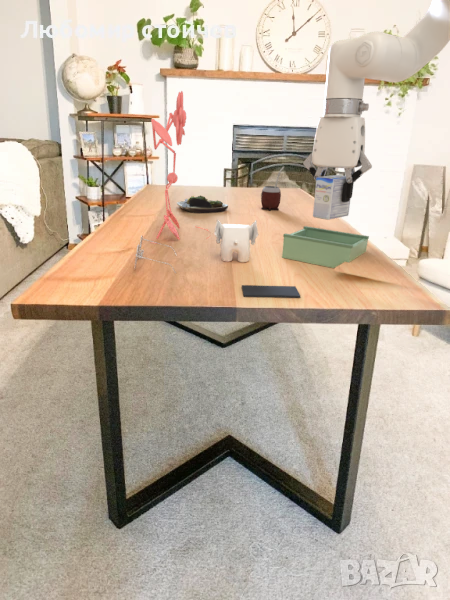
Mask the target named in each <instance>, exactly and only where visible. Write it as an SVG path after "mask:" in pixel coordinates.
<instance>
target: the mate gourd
mask: <svg viewBox="0 0 450 600" xmlns="http://www.w3.org/2000/svg"><path fill="white" fill-rule="evenodd" d="M283 169H285V166H282V167H281V168H280V170H279V171H278V173H277V177H276V181H275V184H274V185H266V186H264V187H263V188H262V190H261V194H260V202H261V203H260V204H261V210H268V212H271V211H279V209H280V207H279V206H280V203H281V199H282V198H281V197H282V192H281V189H280V187H279V186H277V185H278V182H279V178H280V176H281V173H282V171H283Z"/></svg>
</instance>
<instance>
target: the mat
mask: <svg viewBox="0 0 450 600" xmlns="http://www.w3.org/2000/svg"><path fill="white" fill-rule="evenodd" d="M241 291H242V295H243V298H281V299H282V298H284V299H285V298H286V299H287V298H291V299H300V298H301V294H300V292H299V291H298V289H297V287H296V286H295V285H291V286H290V285H257V284H255V285H254V284H253V285H251V284H250V285H249V284H241Z"/></svg>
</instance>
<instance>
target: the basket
mask: <svg viewBox="0 0 450 600" xmlns="http://www.w3.org/2000/svg"><path fill="white" fill-rule="evenodd" d="M282 236H283V239H282V240H283V241H282V253H281V258H282V259H286V260H287V259H288V260H292V261H297V262H302V263H306V264H312V265H317V266H322V267H326V268H331V269H335V268H337V267H339V266H340V265H342V264H344V263H350V262H352V261H353V260H355V259H357V258H359V257H360V256H362V255H363V254H365V253H366V252H367V250H368V249H367V247H368V243H369V238H370V236H369V235H364V234H358V233H352V232H345V231H339V230H332V229H326V228H320V227H313V226H307V225H303V228H302V229H300V230H297V231H294V232H291V233H283V235H282Z"/></svg>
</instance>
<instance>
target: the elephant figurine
mask: <svg viewBox="0 0 450 600" xmlns="http://www.w3.org/2000/svg"><path fill="white" fill-rule="evenodd" d="M257 224H258V223H257V220H254V221H253V222H252V223H251V225H250V224H241V223H240V224H239V223H237V224H235V223H223V224H222V222H221V221H220V220H219V218H216V222H215V227H214V231H213V234H214V236H215V237H216V239H215V243H216V244H218V245H219V244H220V245H219V248H220V258H221V261H222V262H232V261H233V254H234V253H235V252H236V253H237V261H238V262H240V263H247V262H249V260H250V257H251V246H254V245H255V244H256V239H257V238H258V236H259V230H258V225H257Z"/></svg>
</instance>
